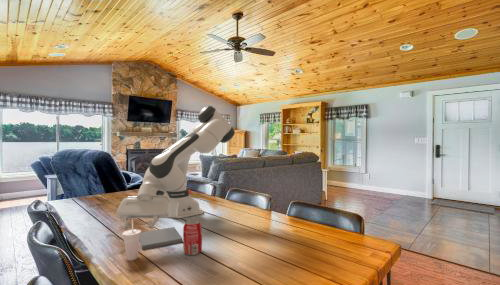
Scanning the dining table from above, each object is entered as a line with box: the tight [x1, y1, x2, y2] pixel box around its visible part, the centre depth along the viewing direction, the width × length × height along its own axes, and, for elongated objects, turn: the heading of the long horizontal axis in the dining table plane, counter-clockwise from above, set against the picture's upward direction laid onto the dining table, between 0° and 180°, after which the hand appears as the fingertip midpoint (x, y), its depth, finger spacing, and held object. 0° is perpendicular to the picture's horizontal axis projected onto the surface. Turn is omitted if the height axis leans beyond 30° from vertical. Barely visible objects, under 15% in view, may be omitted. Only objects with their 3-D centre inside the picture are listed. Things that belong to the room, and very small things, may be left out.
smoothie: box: [121, 219, 142, 261], centre depth 95 cm, size 6×6×14 cm
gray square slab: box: [139, 226, 183, 250], centre depth 113 cm, size 16×16×2 cm
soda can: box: [182, 218, 203, 256], centre depth 100 cm, size 7×7×12 cm
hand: (138, 227), depth 98 cm, fingers open, 8 cm apart
